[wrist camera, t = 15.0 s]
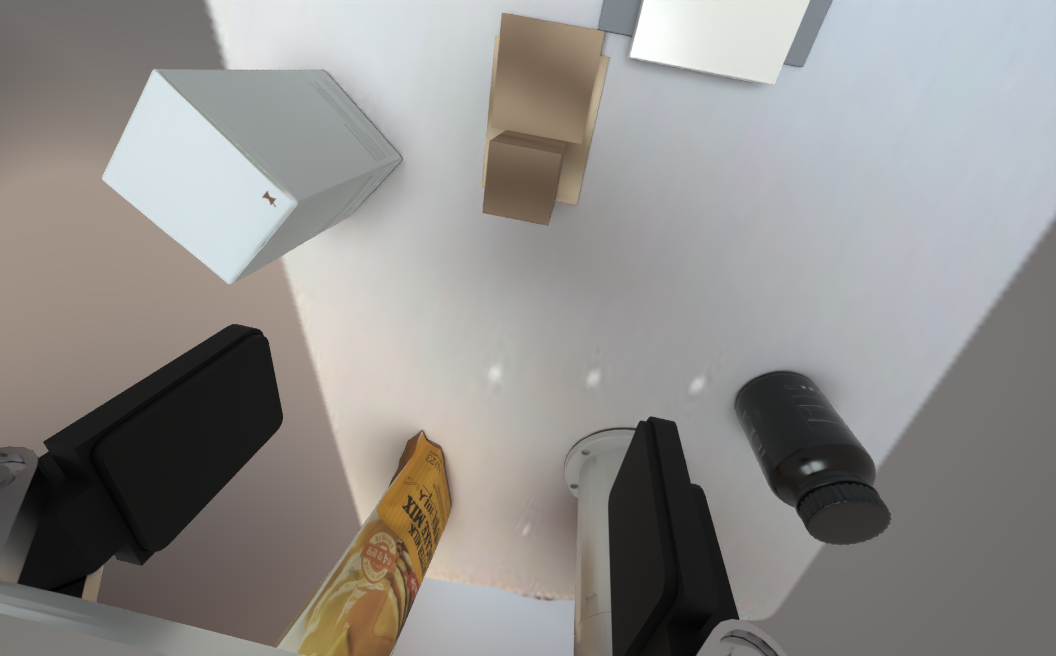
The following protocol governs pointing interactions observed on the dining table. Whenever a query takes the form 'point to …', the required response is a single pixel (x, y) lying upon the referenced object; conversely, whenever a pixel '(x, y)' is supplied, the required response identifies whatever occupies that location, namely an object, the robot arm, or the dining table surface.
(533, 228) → the dining table surface
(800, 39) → the mat
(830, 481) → the supplement bottle
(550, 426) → the dining table surface
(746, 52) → the tile
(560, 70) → the wooden block stack
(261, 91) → the supplement box
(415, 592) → the pancake mix bag
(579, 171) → the pad
